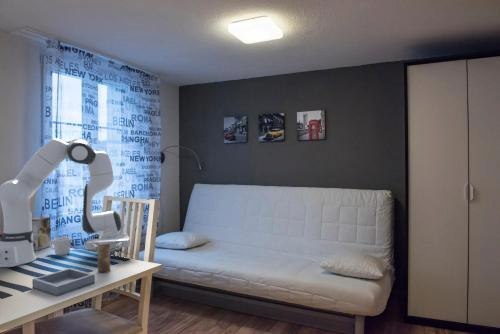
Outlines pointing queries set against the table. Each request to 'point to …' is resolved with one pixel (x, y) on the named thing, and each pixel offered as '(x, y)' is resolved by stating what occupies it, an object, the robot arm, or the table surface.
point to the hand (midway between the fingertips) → (107, 247)
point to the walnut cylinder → (103, 257)
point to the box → (63, 281)
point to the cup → (61, 245)
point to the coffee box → (41, 232)
